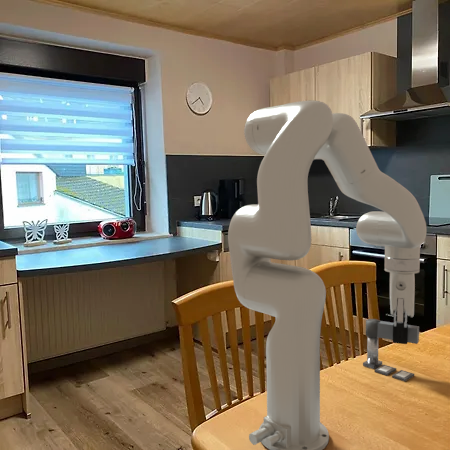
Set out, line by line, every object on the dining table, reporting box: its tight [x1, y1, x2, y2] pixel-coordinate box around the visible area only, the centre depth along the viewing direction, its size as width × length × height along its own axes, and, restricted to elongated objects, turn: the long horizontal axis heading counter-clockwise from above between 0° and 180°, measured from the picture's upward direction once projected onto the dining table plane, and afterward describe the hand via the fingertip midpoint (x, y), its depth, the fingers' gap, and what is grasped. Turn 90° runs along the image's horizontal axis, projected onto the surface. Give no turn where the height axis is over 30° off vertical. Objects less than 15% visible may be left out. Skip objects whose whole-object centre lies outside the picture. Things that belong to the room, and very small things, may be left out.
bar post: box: [362, 336, 383, 370], centre depth 116 cm, size 4×3×7 cm
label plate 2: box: [391, 369, 415, 382], centre depth 110 cm, size 4×3×1 cm
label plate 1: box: [374, 364, 397, 377], centre depth 113 cm, size 4×3×1 cm
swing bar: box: [365, 318, 420, 345], centre depth 113 cm, size 3×12×4 cm, turn 56°
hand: (400, 342), depth 109 cm, fingers closed
